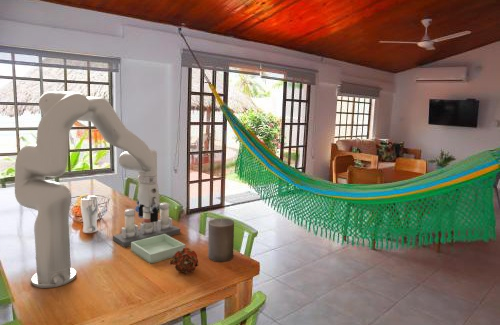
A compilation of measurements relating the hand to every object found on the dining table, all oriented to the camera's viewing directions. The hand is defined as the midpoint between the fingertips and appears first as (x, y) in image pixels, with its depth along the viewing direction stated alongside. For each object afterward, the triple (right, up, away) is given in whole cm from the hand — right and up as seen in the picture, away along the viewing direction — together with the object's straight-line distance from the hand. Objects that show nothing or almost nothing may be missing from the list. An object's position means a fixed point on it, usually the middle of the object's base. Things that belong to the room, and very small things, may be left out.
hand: (148, 218), depth 154 cm
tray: (+8, -11, -14) cm, 20 cm away
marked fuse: (0, -6, +1) cm, 6 cm away
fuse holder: (0, -8, +1) cm, 8 cm away
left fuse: (-6, -6, -5) cm, 10 cm away
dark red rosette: (+20, -14, -28) cm, 37 cm away
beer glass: (-27, -6, +5) cm, 28 cm away
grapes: (-6, -5, +21) cm, 22 cm away
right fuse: (+5, -5, +6) cm, 10 cm away
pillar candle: (+32, -12, -16) cm, 38 cm away
